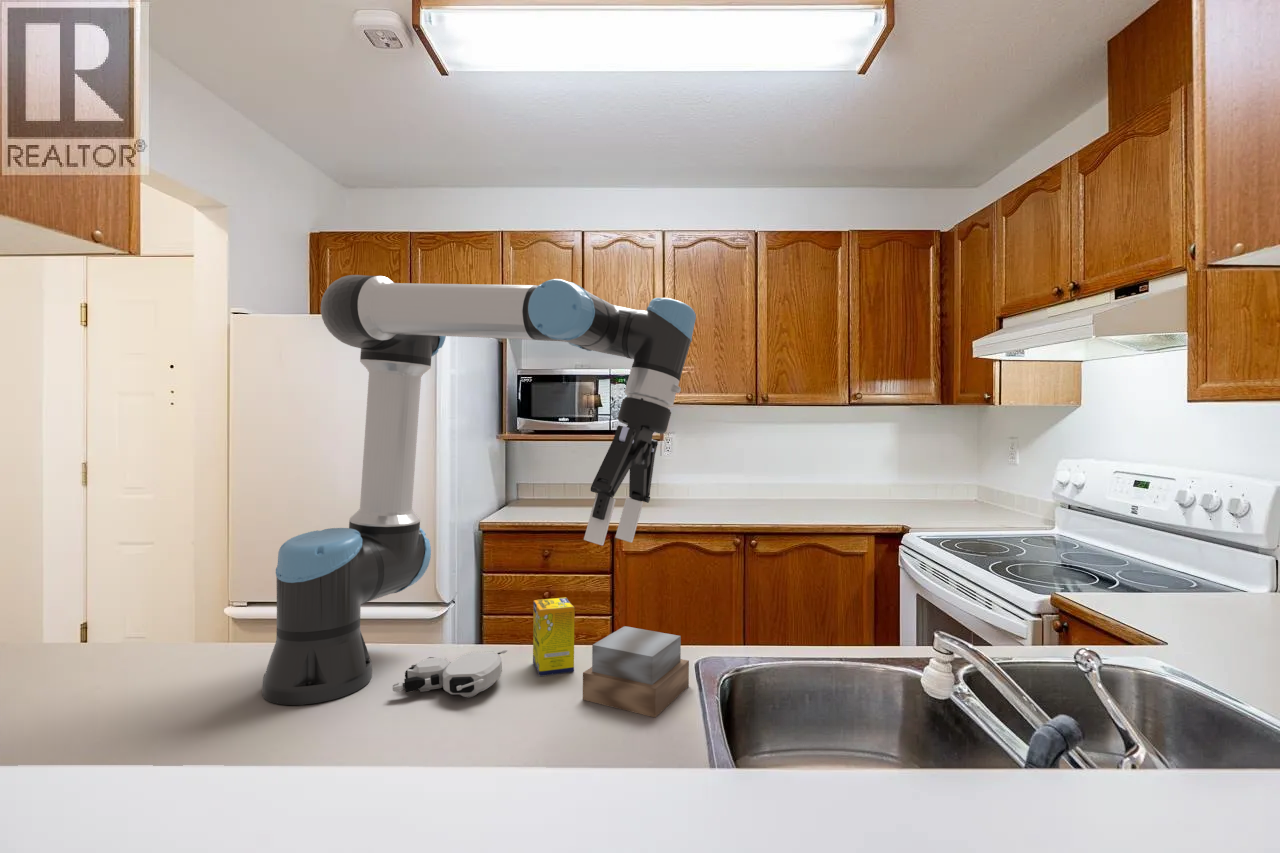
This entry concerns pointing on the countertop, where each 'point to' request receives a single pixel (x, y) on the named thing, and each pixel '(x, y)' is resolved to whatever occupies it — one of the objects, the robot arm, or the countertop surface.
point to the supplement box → (553, 636)
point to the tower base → (636, 691)
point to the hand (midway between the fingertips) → (609, 541)
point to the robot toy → (454, 674)
